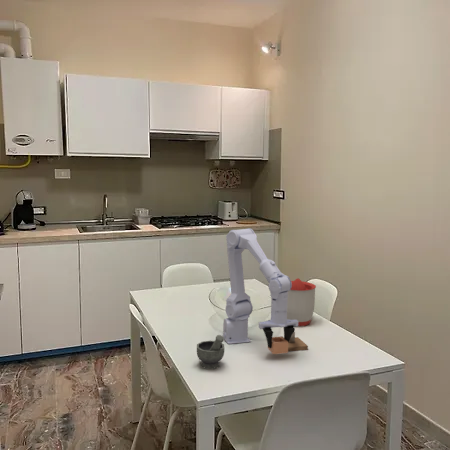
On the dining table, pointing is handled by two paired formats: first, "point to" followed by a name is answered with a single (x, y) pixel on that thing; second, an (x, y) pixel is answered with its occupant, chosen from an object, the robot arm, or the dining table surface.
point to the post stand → (296, 344)
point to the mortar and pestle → (211, 352)
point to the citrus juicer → (301, 302)
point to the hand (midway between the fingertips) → (277, 346)
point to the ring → (279, 345)
